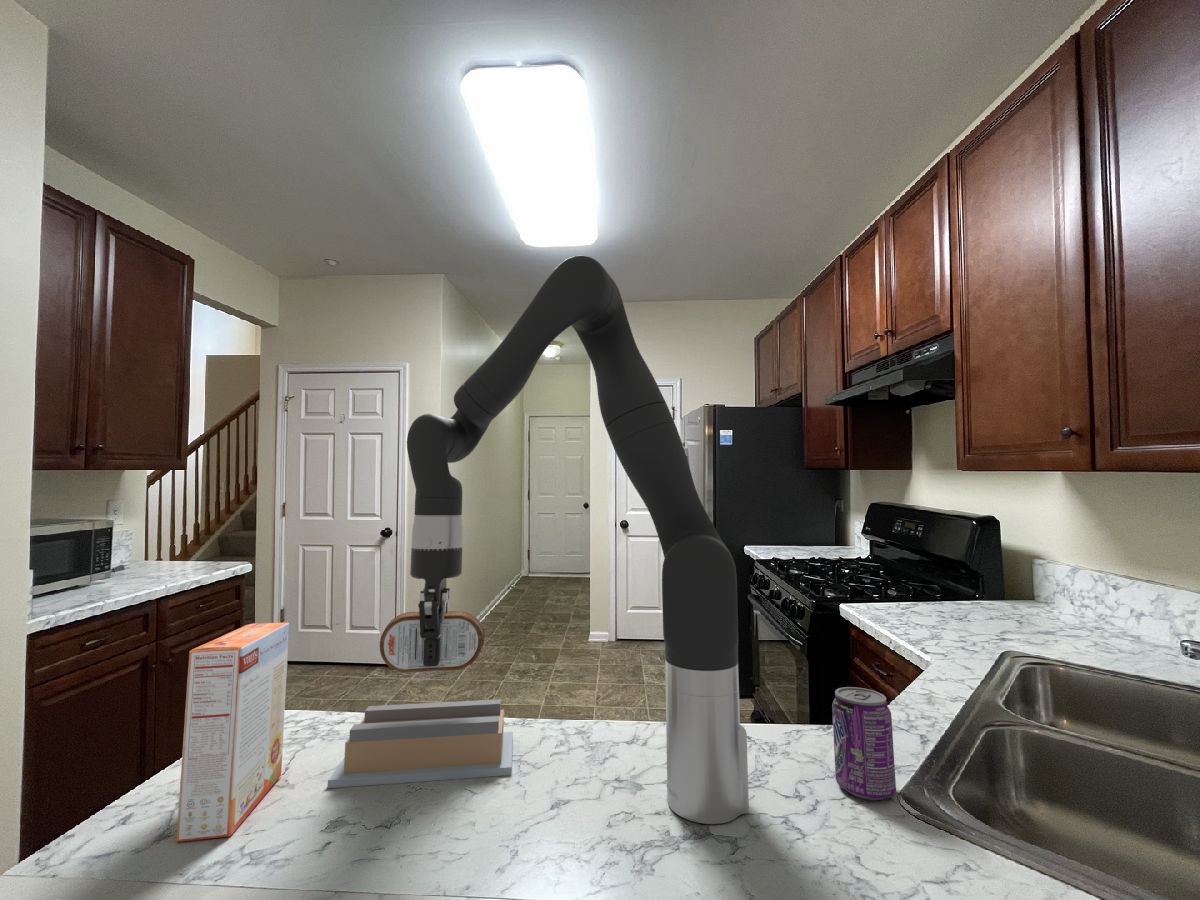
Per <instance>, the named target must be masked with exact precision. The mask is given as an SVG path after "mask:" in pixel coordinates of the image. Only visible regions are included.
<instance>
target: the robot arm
mask: <svg viewBox="0 0 1200 900" xmlns="http://www.w3.org/2000/svg"><path fill="white" fill-rule="evenodd" d="M625 308H626V307H625V305H624V301H623V298H622V295H621V292H620V288H619V287H618V285H617V284H616V282H615V280H614V279H613V278H612V277H611V275H610V274H609V273H608V272H607V270H606V268H604V266H603V265H602V264H601V263H600V262H599V261H598V260H597V259H595V258H593V257H591V256H589V255H581V254H579V255H573V256H570V257H568V258H566V259H564V260H563V261H562V262H561V263H559V264H558V265H557V266H556V267H555V268H554V270H553V271H552V272H551V273H550V274H549V276H548V277H547V279H546V280H545V281H544V282H543V284H542V285H541V287H540V288H539V290H538V292H536V294H535V295H534V297H533V299H532V300H531V301H530V303H529V305H528V306H527V307H526V309H525V310H524V311H523V312H522V314H521V316H520V317H519V318H518V319H517V321H516V322H515V324H514V325H513V326H512V328H511V329H510V330H509V332H508V334H506V336H505V337H504V338H503V340H502V341H501V342H500V343H499V345H498V347H496V348H495V350H493V352H492V353H491V354H490V355H489V356H488V357H487V359H486V360H485V361H484V362H482V364H481V365H479V367H478V368H477V369H476V370H475V371H474V372H473V373H472V374H471V375H470V376H469V377H468V378H466V380H465V381H464V382H463V383H462V384H461V385H460V387H458V389H457V390H456V391H455V393H454V395H453V403H454V405H455V407H456V412H455V413H454V414H453V415H451V417H450V418H449V417H445V416H442V415H439V414H435V413H425V414H422V415H420V416H418V417H417V418H415V419H414V420H413V422H412V423H411V425H410V426H409V430H408V431H407V438H406V449H407V457H408V461H409V465H410V471H411V476H412V479H413V483H414V487H415V495H414V517H413V524H412V529H411V530H412V531H411V543H410V544H411V545H410V546H411V549H410V550H411V551H410V570H409V571H410V572H409V574H410V577H411V578H412V579H417V580H419V579H420V580H421V579H422V580H424V587H423V589H422V590H420V594H419V603H418V612H419V617H420V636H421V638H423V640H424V655H423V664H424V666H437V665H438V664H439V661H440V638H441V636H442V633H441V624H442V622H444V621H445V614H446V611H450V610H449V606H450V604H449V603H450V601H449V600H450V598H451V587H447V582H448V581H447V579H452V578H457V577H460V576H461V575H462V572H463V571H462V570H463V569H462V568H463V541H464V540H463V539H464V529H463V527H464V526H463V516H462V515H463V485H462V483H461V481H460V480H459V479H457V478H456V477H454V476H452V474H451V473H450V467H449V464H452V463H453V464H454V463H458V462H460V461H463V460H464V459H465V458H467V457H468V456H469V455H470V454H471V453H472V452H473V451H474V450H475V449H476V447H477V445H479V443H480V441H481V439H482V438H483V436H484V434H486V431H487V429H488V428H489V426H490V424H491V422H492V421H493V420H494V419H495V418H496V417H497V416H498V415H499V414H500V413H501V412H502V411H503V410H505V409H506V408H507V406H509V405H510V403H512V401H513V400H514V399H515V398H516V397H517V396H518V395H519V394H520V392H521V391H522V390H523V389H524V387H525V386H526V384H527V382H528V380H529V379H530V377H531V376H532V373H533V371H534V369H535V367H536V365H537V363H538V361H539V359H540V358H541V357H542V355H543V354H544V352H545V350H546V349H547V348H548V347H549V346H550V345H551V343H552V342H553V341H554V340H555V339H557V337H558V336H559V335H560V334H562V333H563V332H564V331H566V330H567V329H568V328H569V327H572V328H573V330H574V331H575V333H576V334H577V336H578V337H579V339H580V341H581V343H582V345H583V347H584V349H585V352H586V353H587V354H586V355H588V358H589V359H590V363H591V364H592V368H593V371H594V376H595V380H596V388H597V389H596V390H597V391H596V392H597V399H598V404H599V410H600V414H601V418H602V421H603V423H604V426H605V429H606V431H607V435H608V437H609V439H610V442H611V444H612V448H613V449H614V452H615V453H616V457H617V458H618V460H619V462H620V465H622V468H623V470H624V472H625V473H626V475H627V477H628V478H629V481H630V482H631V483H632V486H633V487H634V489H635V490H636V492H637V493H638V495H639V496H640V498H641V500H642V502H643V503H644V505H645V507H646V509H647V510H648V512H649V514H650V516H651V520H652V522H653V525H654V528H655V531H656V534H657V536H658V537H657V538H658V540H659V544H660V547H661V549H662V553H663V558H664V559H663V562H662V568H661V569H662V570H661V597H662V607H661V608H662V633H663V640H664V641H663V642H664V655H665V658H664V660H665V661H664V662H665V664H664V665H665V670H664V671H665V720H666V721H665V725H666V727H665V729H666V730H665V731H666V732H665V734H666V735H665V736H666V737H665V738H666V794H667V804H668V807H669V808H670V809H671V810H672V812H674V813H675V814H676V815H677V816H679V817H681V818H683V819H685V820H688V821H691V822H695V823H700V824H704V825H705V824H706V825H717V824H718V825H719V824H724V823H729V822H732V821H733V820H735V819H737V818H738V817H740V816H741V815H744V814H746V815H747V814H749V813H750V799H749V770H748V768H749V766H748V744H747V743H748V739H747V738H748V736H747V734H748V733H747V730H746V728H745V727H743V725H742V724H741V716H740V712H741V711H740V686H739V685H740V684H739V683H740V682H739V618H738V617H739V616H738V611H739V609H738V606H739V605H738V578H737V577H738V576H737V568H736V563H735V560H734V558H733V556H732V554H731V552H730V550H729V548H728V547H727V546H726V545H725V543H724V541H723V540H722V538H721V537H720V535H719V533H718V532H717V530H716V528H715V526H714V524H713V522H712V521H711V519H710V516H709V515H708V513H707V511H706V509H705V507H704V506H703V503H702V501H701V498H700V496H699V494H698V492H697V488H696V486H695V483H694V479H693V474H692V471H691V467H690V465H689V461H688V457H687V454H686V450H685V448H684V445H683V442H682V439H681V437H680V436H681V435H680V433H679V430H678V429H677V425H676V423H675V421H674V417H673V415H672V413H671V411H670V409H669V406H668V404H667V402H666V400H665V398H664V396H663V394H662V392H661V389H660V387H659V385H658V383H657V381H656V379H655V377H654V376H653V373H652V371H651V370H650V368H649V366H648V365H647V363H646V361H645V359H644V358H643V356H642V354H641V352H640V349H639V347H638V345H637V343H636V340H635V338H634V334H633V332H632V329H631V325H630V322H629V319H628V315H627V312H626V309H625ZM440 614H441V615H440ZM439 615H440V616H439ZM428 625H434V629H428Z"/></svg>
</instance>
